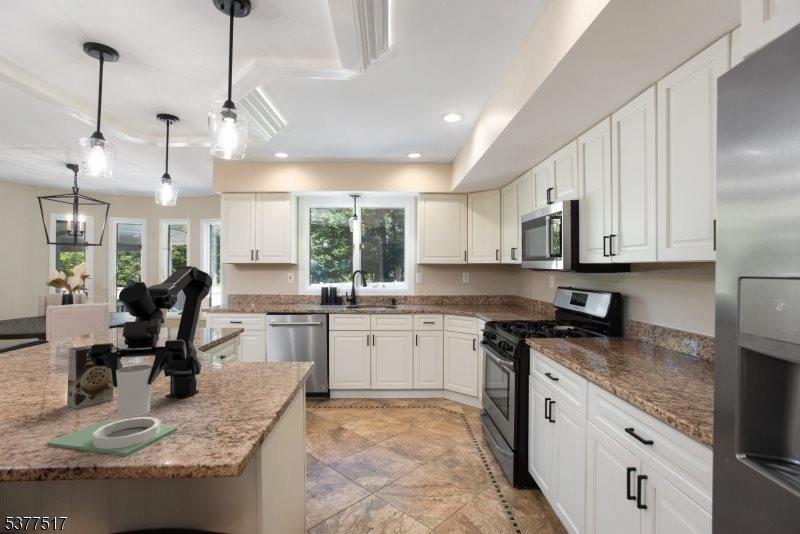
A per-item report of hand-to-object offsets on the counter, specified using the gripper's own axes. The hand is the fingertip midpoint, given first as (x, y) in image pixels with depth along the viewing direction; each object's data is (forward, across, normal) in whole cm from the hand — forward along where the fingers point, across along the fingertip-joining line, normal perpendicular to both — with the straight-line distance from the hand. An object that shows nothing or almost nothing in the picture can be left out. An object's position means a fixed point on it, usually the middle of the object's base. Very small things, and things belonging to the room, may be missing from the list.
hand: (132, 385), depth 84 cm
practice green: (+6, -4, +11) cm, 13 cm away
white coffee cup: (+4, 0, +6) cm, 7 cm away
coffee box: (-14, -19, +32) cm, 40 cm away
